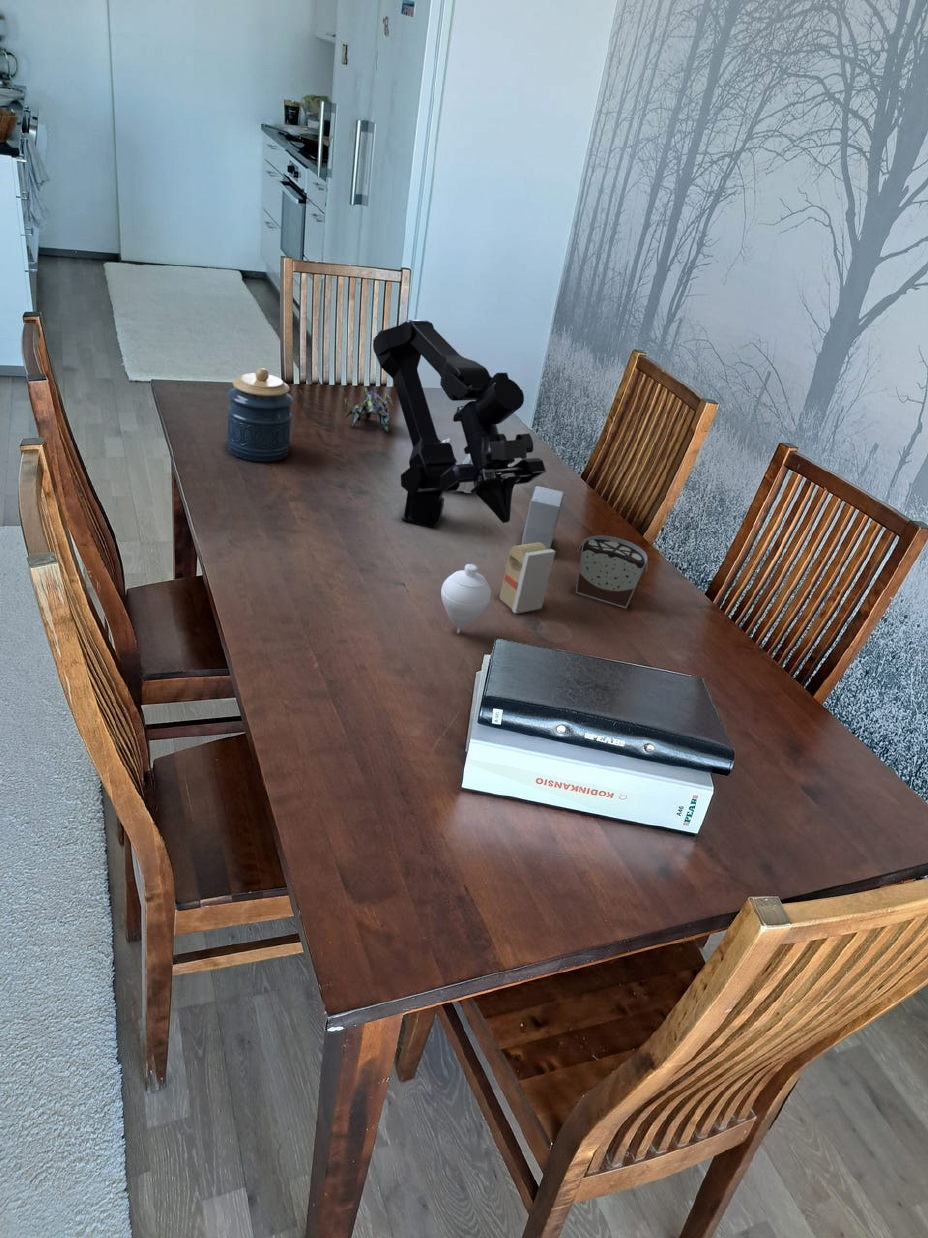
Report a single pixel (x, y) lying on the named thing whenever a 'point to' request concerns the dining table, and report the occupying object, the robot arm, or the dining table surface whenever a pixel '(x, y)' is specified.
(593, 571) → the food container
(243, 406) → the canister
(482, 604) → the spinning top
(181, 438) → the dining table surface
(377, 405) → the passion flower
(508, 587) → the cream two-tone block
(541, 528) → the small box
